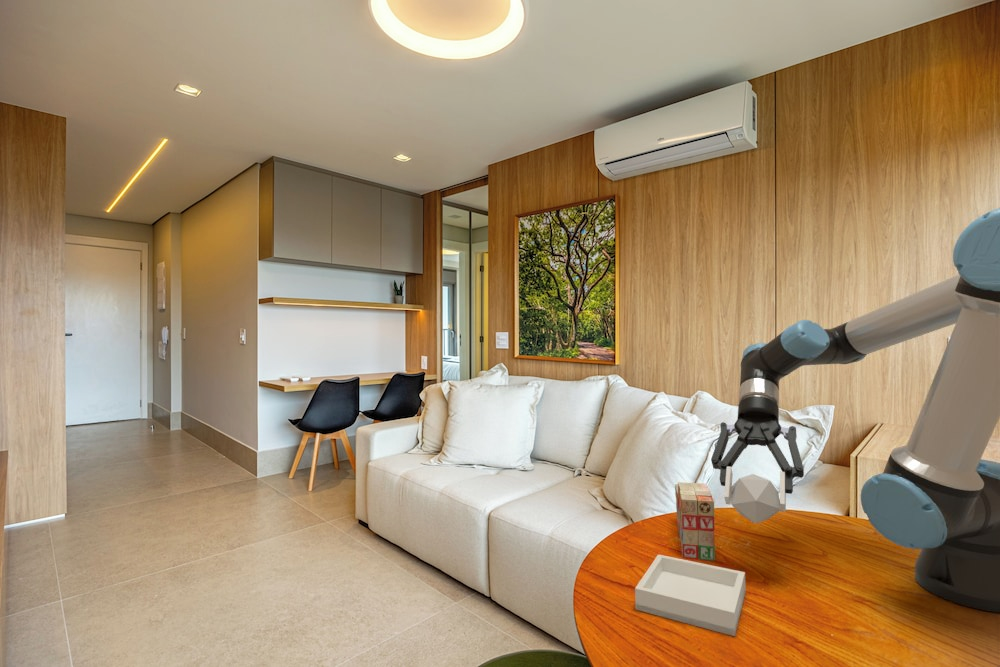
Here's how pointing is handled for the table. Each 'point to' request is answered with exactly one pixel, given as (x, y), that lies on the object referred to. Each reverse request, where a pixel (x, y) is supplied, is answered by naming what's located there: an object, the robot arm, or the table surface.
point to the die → (755, 498)
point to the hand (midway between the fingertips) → (754, 504)
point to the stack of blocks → (695, 520)
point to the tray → (692, 593)
